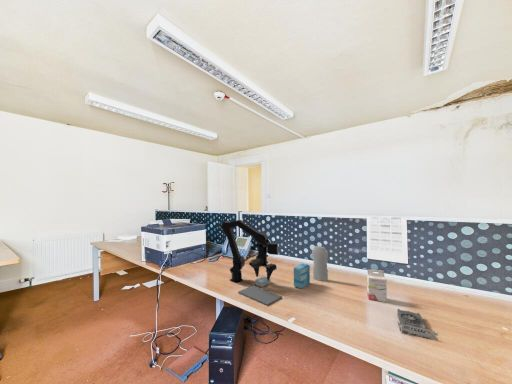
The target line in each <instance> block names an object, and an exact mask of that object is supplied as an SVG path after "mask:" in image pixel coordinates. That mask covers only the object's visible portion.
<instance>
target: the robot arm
mask: <svg viewBox="0 0 512 384" xmlns="http://www.w3.org/2000/svg"><path fill="white" fill-rule="evenodd" d="M236 227H238V228H240V229H241V230H243V231H244V232H246V234H249V235H250V236H252V238H253V239H254V240H255V242H256V244H255V245H254V247H257V254H256V256H255V257H256V258H254V259H251V260H249V261H248V262H249V263H248V265H249V266H250V267H251V268H252V269H253V270H254V274H255V276H256V277H257V278H258V277H259V273H260V268H261V267H263V268H265V269H266V270H265V272H266V277H267V280H269V279H270V280H271V276H272V275H273V272H274V271H276V270H277V268H278V267H277V264H275V263H272V262H271V263H269V261H268V257H269V255H276V256H278V255H279V253H280V249H279V244H278V243H277V242H276V243H275V242H274V243H271V241H270V240H269V238H268V235H267V234H266V233H264V232H262V231H259V230H257V229H254V228H253V227H251V226H250V225H249V224H248V223H246V222H244V221H243V220H242V219H237V220H234V221H230V220H228V221H223V222H222V223H221V229H222V232H223V233H224V234H225V236H226V238H227V241H228V245H229V248H230V251H231V254H232V267H231V268H230V269H229V271H230V274H231V278H230V279H229V281H230V282H233V283H239V282H242V281H244V278H242V277H243V276H242V270H243V268H244V267H245V265H246V260H245V256H244V255H241V254H240V251H239V247H238V245H237V241H236V237H235V235H234V231H235V229H234V228H236ZM268 254H269V255H268Z"/></svg>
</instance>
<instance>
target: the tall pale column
mask: <svg viewBox="0 0 512 384" xmlns="http://www.w3.org/2000/svg"><path fill="white" fill-rule="evenodd" d="M311 257H312V261H313V266H312V278H313V280H317V281H321V282H328V280H329V278H328V275H329V274H328V259H329V252H328V251H327V248H326V247H324V246H321V245H314V246H313V250H312V251H311Z"/></svg>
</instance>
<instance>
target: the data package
mask: <svg viewBox="0 0 512 384" xmlns="http://www.w3.org/2000/svg"><path fill="white" fill-rule="evenodd" d="M310 267H311V265H309V264H306V263H301V264H299V265H296V266H294V267H293V286H294V287H295V288H298V289H303V288H305V287H307V286H308V285H309V284H310V282H311V268H310Z"/></svg>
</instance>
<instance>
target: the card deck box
mask: <svg viewBox="0 0 512 384" xmlns="http://www.w3.org/2000/svg"><path fill="white" fill-rule="evenodd" d="M270 283H271V278H270V279H269V280H267V276H264V275H263V276H261V277H259V278H258V277H257V278H256V279H254V284H255V286H256V285H257V287H260V288H261V287H264V286H266V285H268V284H270Z"/></svg>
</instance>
